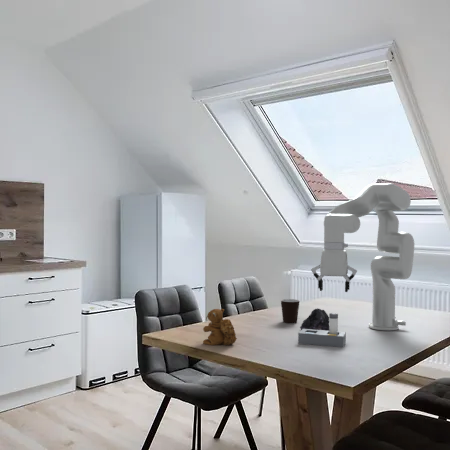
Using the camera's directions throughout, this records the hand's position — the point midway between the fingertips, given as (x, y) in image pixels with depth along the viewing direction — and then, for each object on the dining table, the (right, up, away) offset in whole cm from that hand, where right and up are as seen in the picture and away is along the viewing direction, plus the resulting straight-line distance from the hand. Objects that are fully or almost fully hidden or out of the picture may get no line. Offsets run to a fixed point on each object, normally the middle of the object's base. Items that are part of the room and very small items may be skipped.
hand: (333, 291), depth 211 cm
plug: (0, -20, 0) cm, 20 cm away
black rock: (-3, -20, +24) cm, 31 cm away
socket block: (-4, -20, +1) cm, 21 cm away
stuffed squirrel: (-43, -20, -1) cm, 48 cm away
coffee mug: (-11, -20, +43) cm, 49 cm away
